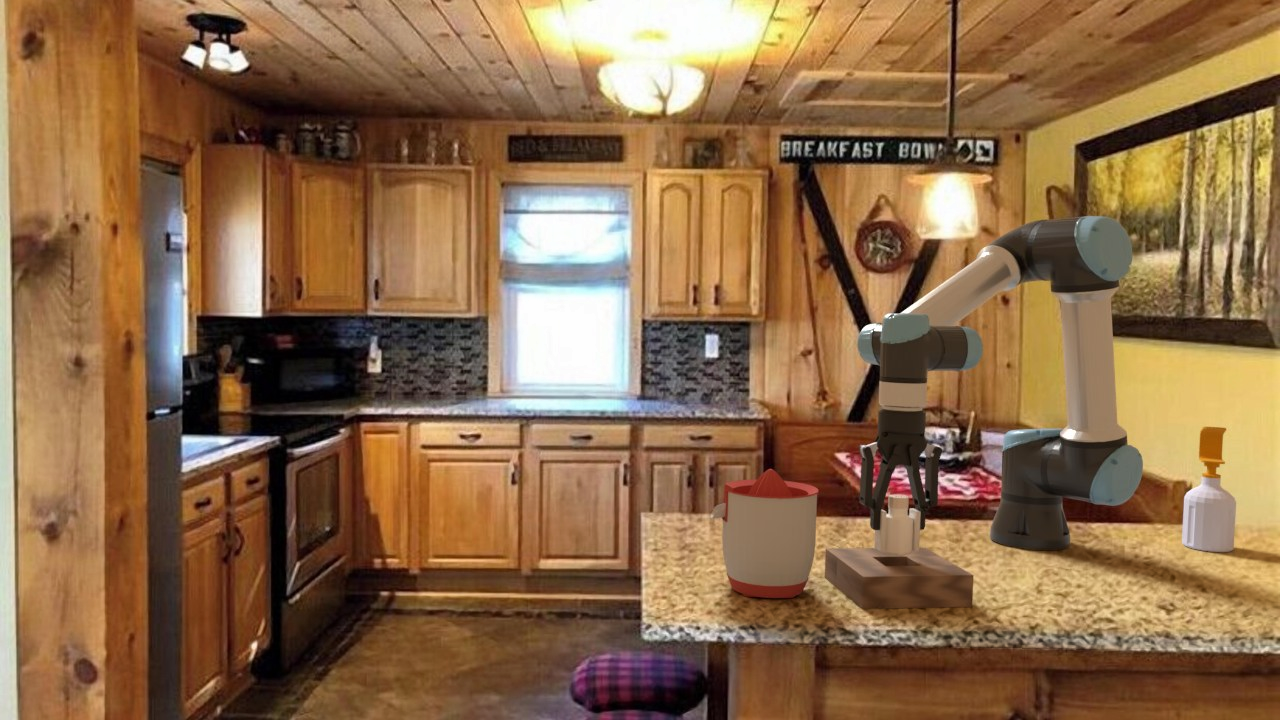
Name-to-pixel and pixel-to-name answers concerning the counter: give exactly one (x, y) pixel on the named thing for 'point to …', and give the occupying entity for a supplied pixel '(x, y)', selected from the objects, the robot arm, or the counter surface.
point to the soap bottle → (1209, 501)
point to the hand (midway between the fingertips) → (896, 549)
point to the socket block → (898, 579)
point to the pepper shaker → (898, 527)
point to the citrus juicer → (768, 535)
